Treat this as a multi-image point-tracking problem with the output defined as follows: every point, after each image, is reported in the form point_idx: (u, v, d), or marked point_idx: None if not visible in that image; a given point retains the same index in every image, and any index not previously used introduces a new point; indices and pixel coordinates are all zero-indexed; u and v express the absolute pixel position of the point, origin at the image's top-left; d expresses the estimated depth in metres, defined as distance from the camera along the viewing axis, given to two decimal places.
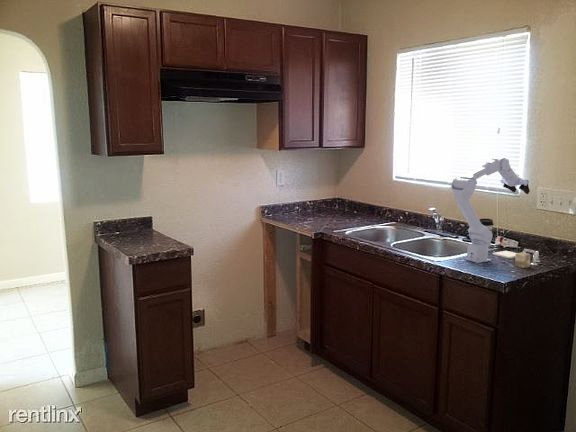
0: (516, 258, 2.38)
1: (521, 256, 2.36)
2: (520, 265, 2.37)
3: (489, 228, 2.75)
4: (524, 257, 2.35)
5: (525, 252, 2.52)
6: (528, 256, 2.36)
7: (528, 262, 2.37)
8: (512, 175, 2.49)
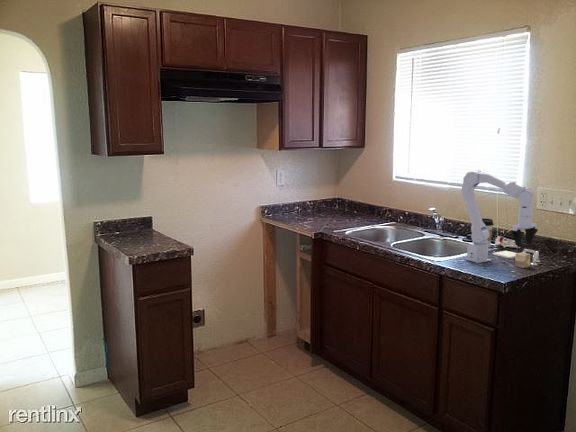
0: (516, 258, 2.38)
1: (521, 256, 2.36)
2: (520, 265, 2.37)
3: (489, 228, 2.75)
4: (524, 257, 2.35)
5: (525, 252, 2.52)
6: (528, 256, 2.36)
7: (528, 262, 2.37)
8: (522, 215, 2.33)
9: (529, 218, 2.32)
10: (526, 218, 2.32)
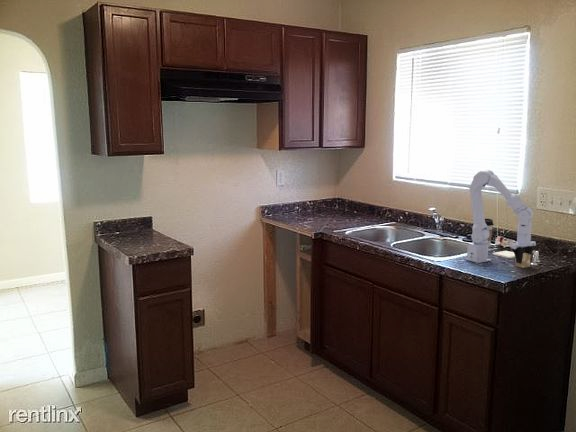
0: None
1: None
2: (520, 265, 2.37)
3: (489, 228, 2.75)
4: (524, 257, 2.35)
5: None
6: (528, 256, 2.36)
7: (528, 262, 2.37)
8: (521, 233, 2.34)
9: (528, 236, 2.34)
10: (525, 236, 2.34)
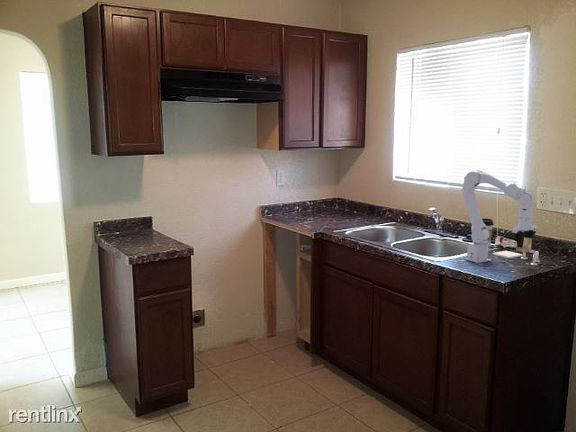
0: None
1: None
2: (521, 249, 2.36)
3: (489, 228, 2.75)
4: (525, 241, 2.34)
5: (525, 252, 2.52)
6: (529, 240, 2.35)
7: (529, 246, 2.36)
8: (522, 217, 2.33)
9: (529, 220, 2.33)
10: (526, 220, 2.32)
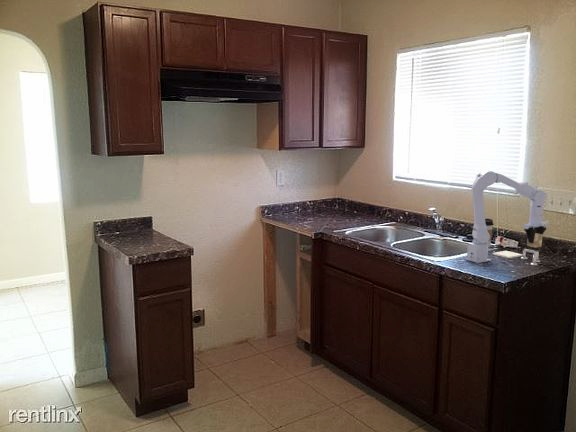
0: None
1: None
2: (532, 245, 2.45)
3: (489, 228, 2.75)
4: (536, 237, 2.43)
5: (525, 252, 2.52)
6: (540, 236, 2.44)
7: (540, 242, 2.45)
8: (537, 214, 2.42)
9: (540, 217, 2.42)
10: (537, 217, 2.42)
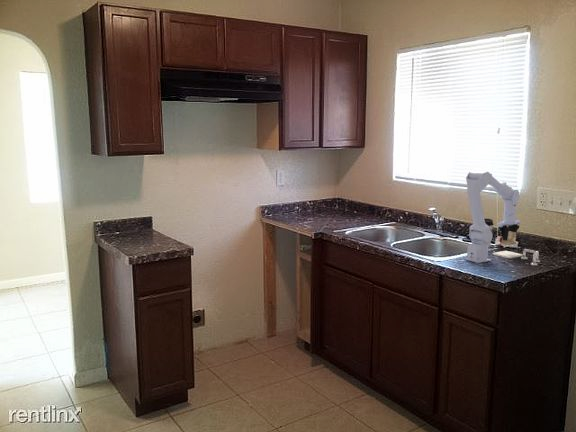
0: None
1: None
2: (506, 242, 2.57)
3: None
4: (510, 235, 2.55)
5: (525, 252, 2.52)
6: (514, 234, 2.56)
7: (514, 240, 2.57)
8: (514, 212, 2.54)
9: (513, 215, 2.54)
10: (510, 215, 2.54)
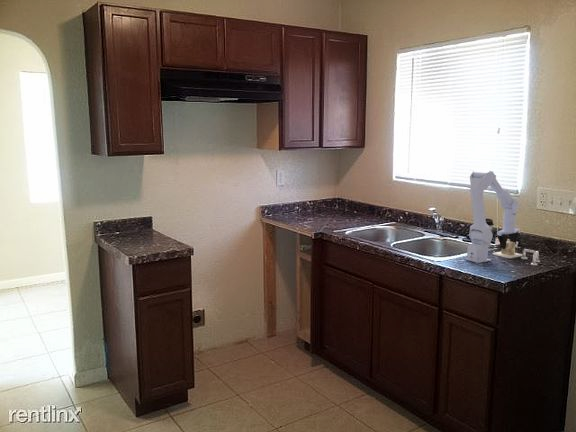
0: None
1: (507, 244, 2.57)
2: (506, 252, 2.58)
3: None
4: (509, 245, 2.56)
5: (525, 252, 2.52)
6: (513, 244, 2.57)
7: (513, 250, 2.58)
8: (513, 221, 2.54)
9: (512, 224, 2.55)
10: (510, 224, 2.55)
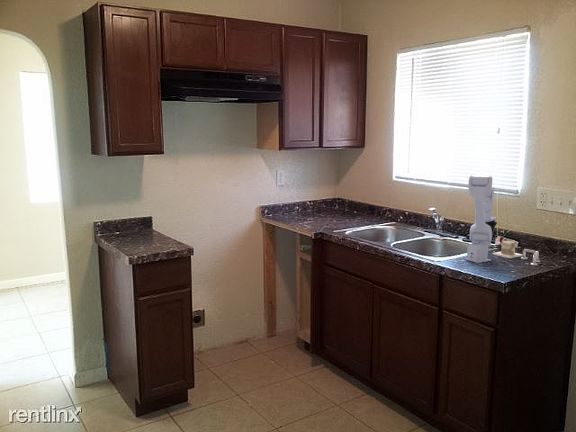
0: (502, 246, 2.59)
1: (507, 244, 2.57)
2: (506, 252, 2.58)
3: None
4: (509, 245, 2.56)
5: (525, 252, 2.52)
6: (513, 244, 2.57)
7: (513, 250, 2.58)
8: (491, 209, 2.58)
9: (489, 212, 2.57)
10: (486, 212, 2.57)
